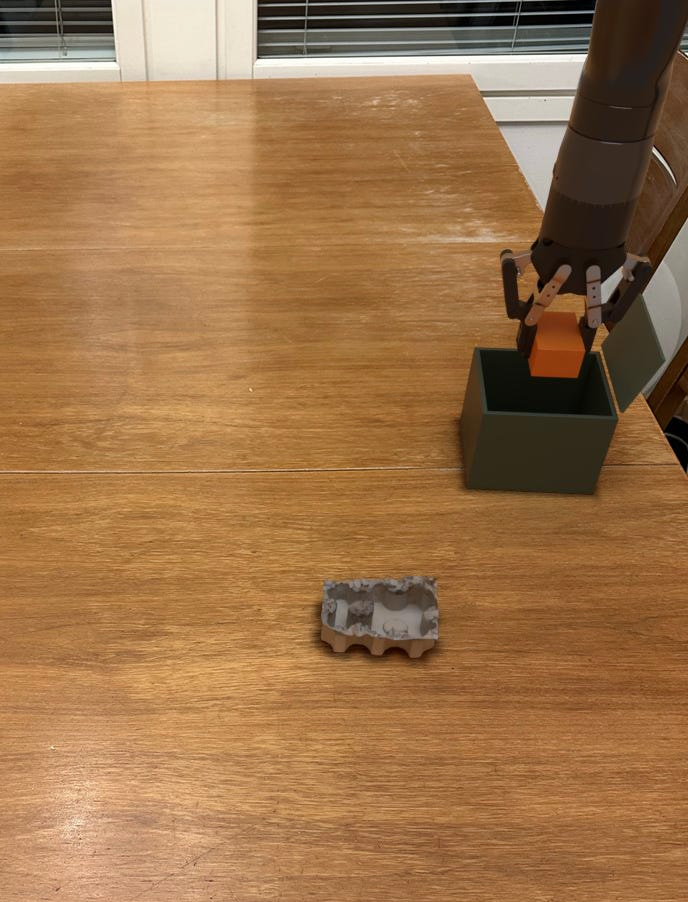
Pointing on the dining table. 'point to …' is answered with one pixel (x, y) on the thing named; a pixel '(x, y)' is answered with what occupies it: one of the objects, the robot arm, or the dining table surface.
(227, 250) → the dining table surface
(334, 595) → the egg carton
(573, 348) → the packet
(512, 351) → the dark green box
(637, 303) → the flap
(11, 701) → the dining table surface
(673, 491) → the dining table surface
